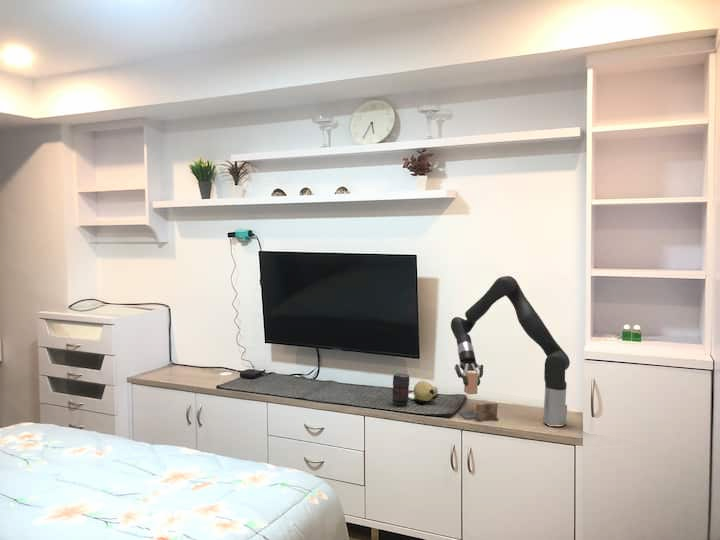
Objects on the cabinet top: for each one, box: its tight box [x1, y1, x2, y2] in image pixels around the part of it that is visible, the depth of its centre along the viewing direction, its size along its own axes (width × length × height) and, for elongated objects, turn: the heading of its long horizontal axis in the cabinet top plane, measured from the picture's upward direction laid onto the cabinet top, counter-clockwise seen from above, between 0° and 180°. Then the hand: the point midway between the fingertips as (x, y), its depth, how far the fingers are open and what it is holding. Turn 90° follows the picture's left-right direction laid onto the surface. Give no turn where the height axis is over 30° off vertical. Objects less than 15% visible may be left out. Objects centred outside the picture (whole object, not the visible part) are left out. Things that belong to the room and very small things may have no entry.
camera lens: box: [391, 372, 410, 408], centre depth 292 cm, size 8×8×15 cm
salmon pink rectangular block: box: [463, 371, 479, 395], centre depth 278 cm, size 4×4×10 cm
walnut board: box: [474, 402, 499, 423], centre depth 274 cm, size 10×4×8 cm, turn 106°
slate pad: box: [457, 410, 476, 420], centre depth 279 cm, size 8×8×1 cm
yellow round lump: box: [413, 380, 439, 402], centre depth 298 cm, size 10×12×11 cm
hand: (472, 384), depth 276 cm, fingers closed on salmon pink rectangular block, 5 cm apart
